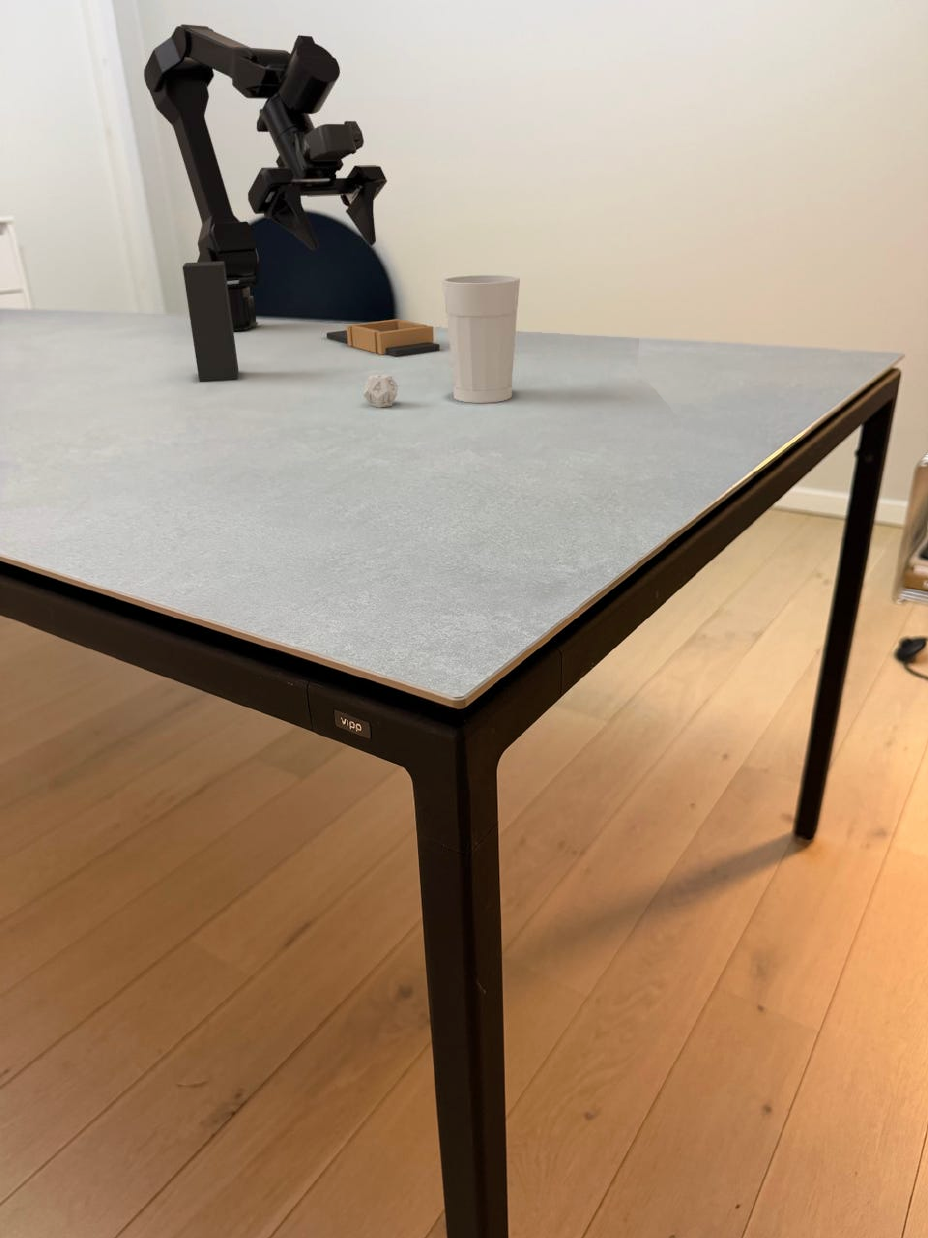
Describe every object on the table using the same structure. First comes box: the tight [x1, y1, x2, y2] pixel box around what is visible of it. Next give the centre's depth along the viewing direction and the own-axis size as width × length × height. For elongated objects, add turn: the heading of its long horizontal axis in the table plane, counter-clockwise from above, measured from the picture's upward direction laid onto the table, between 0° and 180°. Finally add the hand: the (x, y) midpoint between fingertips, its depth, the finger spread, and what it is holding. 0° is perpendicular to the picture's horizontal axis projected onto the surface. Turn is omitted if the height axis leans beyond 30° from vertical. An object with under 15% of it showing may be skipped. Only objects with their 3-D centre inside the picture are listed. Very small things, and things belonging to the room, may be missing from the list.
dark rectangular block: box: [182, 261, 239, 382], centre depth 110 cm, size 4×4×13 cm
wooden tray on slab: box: [326, 318, 440, 357], centre depth 131 cm, size 20×8×3 cm, turn 35°
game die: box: [363, 373, 399, 409], centre depth 96 cm, size 4×4×3 cm
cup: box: [441, 274, 521, 404], centre depth 97 cm, size 8×8×12 cm
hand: (345, 246), depth 120 cm, fingers open, 9 cm apart
